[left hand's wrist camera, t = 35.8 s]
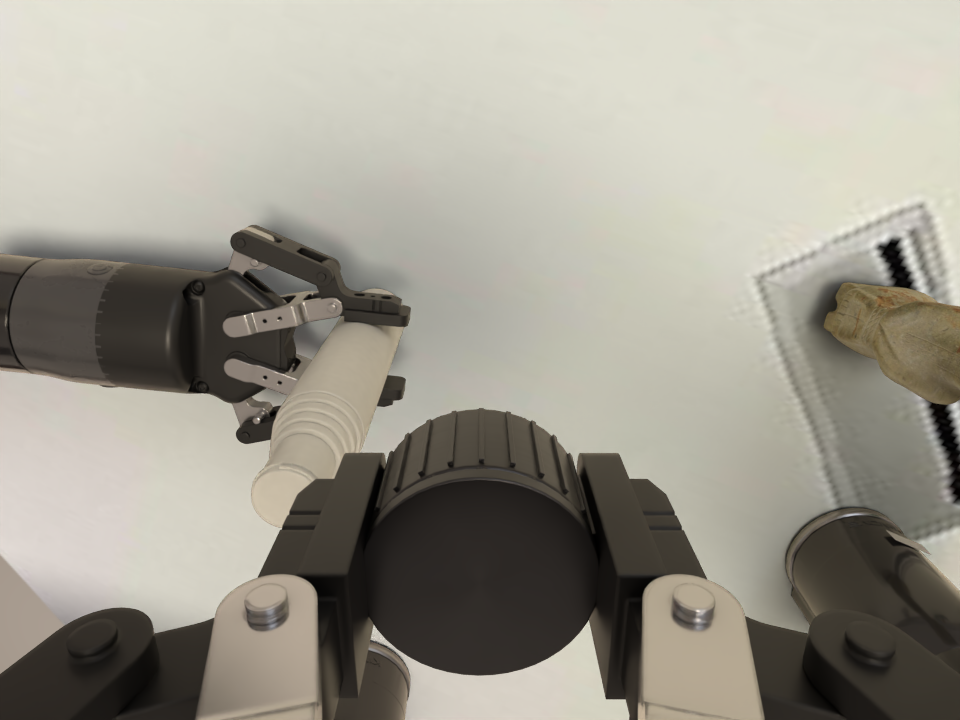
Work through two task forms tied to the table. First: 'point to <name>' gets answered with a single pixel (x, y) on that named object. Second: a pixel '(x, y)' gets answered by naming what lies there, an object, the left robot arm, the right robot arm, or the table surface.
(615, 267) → the table surface
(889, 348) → the sculpture
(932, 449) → the table surface
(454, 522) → the cap
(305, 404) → the bottle
